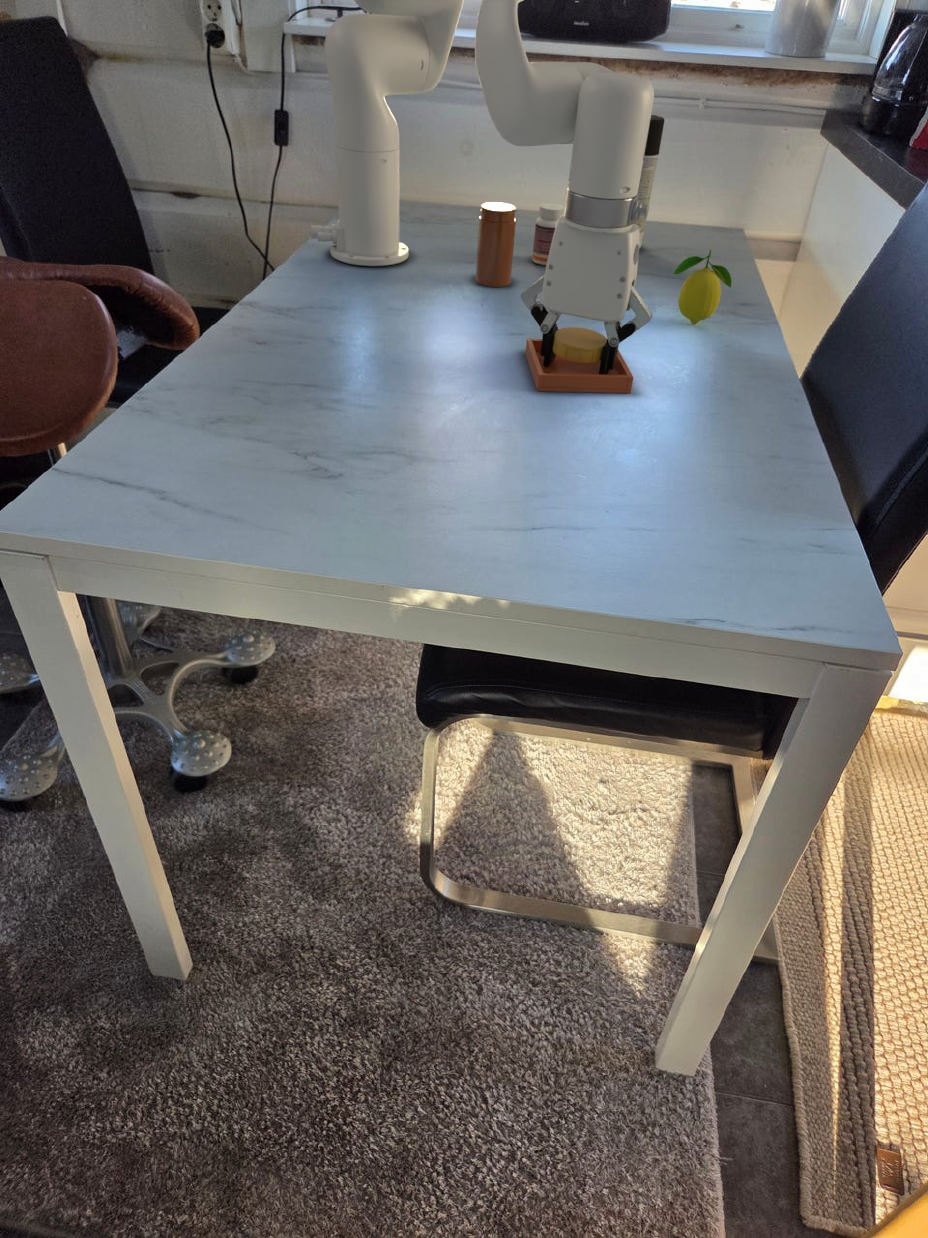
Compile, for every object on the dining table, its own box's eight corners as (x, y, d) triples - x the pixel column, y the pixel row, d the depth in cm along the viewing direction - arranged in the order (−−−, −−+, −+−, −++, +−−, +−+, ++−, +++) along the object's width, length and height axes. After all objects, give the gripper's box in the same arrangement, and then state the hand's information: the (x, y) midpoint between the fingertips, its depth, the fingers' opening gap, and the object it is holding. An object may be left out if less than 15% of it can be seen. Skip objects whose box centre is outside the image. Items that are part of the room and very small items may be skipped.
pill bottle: (559, 267, 134) (565, 211, 129) (530, 264, 135) (535, 208, 130) (562, 259, 138) (569, 204, 133) (534, 255, 139) (539, 201, 133)
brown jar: (476, 286, 125) (481, 210, 118) (474, 275, 129) (478, 200, 122) (512, 287, 125) (519, 211, 119) (508, 276, 129) (514, 202, 123)
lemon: (662, 323, 117) (678, 249, 110) (678, 312, 121) (694, 240, 114) (707, 335, 114) (726, 260, 108) (722, 324, 118) (741, 250, 112)
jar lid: (610, 348, 102) (613, 334, 101) (597, 367, 97) (600, 352, 96) (560, 337, 103) (562, 323, 102) (545, 355, 98) (547, 340, 97)
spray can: (615, 239, 149) (636, 110, 136) (648, 248, 146) (672, 117, 133) (595, 246, 145) (615, 114, 132) (629, 255, 142) (652, 120, 129)
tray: (537, 391, 97) (539, 374, 96) (525, 353, 106) (526, 338, 104) (630, 393, 98) (633, 377, 97) (611, 356, 107) (613, 340, 105)
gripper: (684, 213, 91) (651, 371, 102) (534, 191, 95) (518, 344, 106) (672, 230, 85) (639, 394, 97) (513, 205, 89) (499, 365, 101)
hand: (576, 366), depth 101 cm, fingers closed on jar lid, 6 cm apart
